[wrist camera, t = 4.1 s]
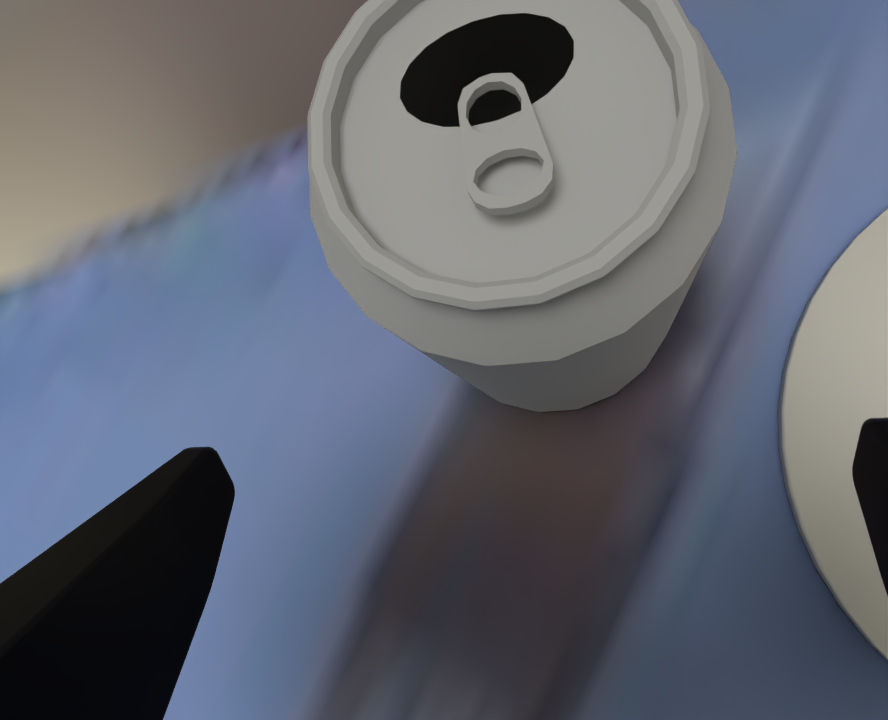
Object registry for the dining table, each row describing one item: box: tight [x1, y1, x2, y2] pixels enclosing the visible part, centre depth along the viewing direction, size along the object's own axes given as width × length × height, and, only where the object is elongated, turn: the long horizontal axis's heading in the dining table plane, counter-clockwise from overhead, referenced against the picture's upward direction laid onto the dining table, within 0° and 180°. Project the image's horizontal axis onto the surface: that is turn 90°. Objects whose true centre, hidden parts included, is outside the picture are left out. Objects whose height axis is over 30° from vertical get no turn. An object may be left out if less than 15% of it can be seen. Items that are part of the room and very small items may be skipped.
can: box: [308, 0, 737, 412], centre depth 16 cm, size 8×8×12 cm
